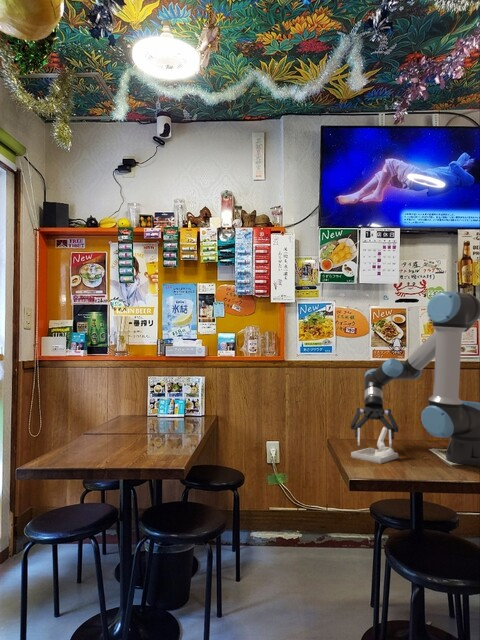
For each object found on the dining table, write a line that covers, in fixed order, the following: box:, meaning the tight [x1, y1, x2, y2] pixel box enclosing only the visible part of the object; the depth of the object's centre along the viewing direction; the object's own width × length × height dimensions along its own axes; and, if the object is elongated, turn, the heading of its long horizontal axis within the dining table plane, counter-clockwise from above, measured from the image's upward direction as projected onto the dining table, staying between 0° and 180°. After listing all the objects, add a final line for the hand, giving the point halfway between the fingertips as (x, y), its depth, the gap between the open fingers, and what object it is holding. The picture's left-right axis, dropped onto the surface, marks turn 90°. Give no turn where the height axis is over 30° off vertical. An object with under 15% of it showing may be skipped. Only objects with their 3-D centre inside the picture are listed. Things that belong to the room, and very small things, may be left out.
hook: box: [375, 426, 395, 457], centre depth 174 cm, size 8×12×7 cm
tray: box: [350, 447, 399, 465], centre depth 175 cm, size 13×13×2 cm
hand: (374, 444), depth 172 cm, fingers open, 11 cm apart
